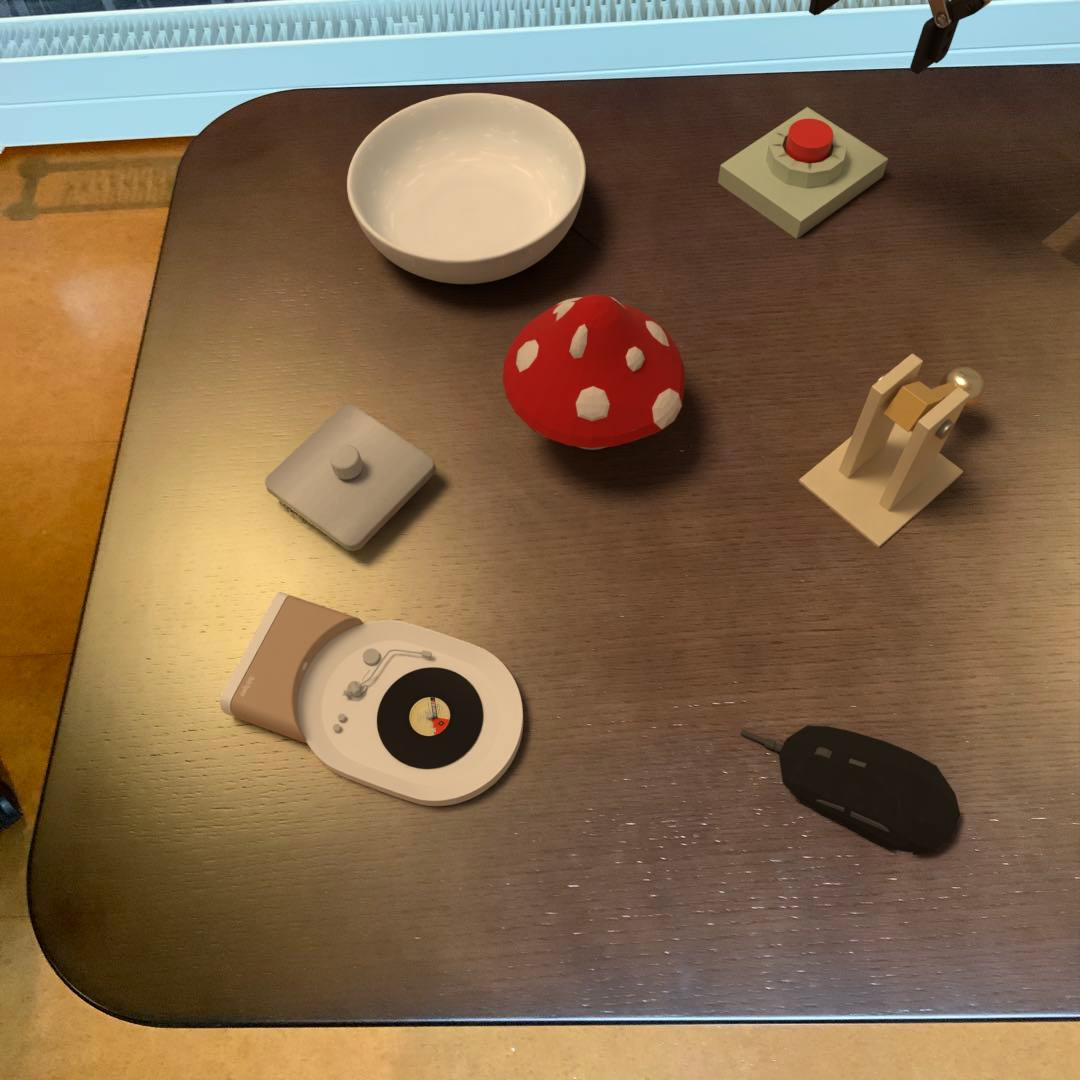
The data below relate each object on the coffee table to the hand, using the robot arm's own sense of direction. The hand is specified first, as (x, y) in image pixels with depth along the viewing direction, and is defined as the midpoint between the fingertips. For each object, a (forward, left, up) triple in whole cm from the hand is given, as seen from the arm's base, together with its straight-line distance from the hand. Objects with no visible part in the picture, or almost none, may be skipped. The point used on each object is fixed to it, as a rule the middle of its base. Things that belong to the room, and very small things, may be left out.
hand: (873, 35), depth 80 cm
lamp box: (-3, -5, -19) cm, 20 cm away
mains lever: (+15, +22, -13) cm, 29 cm away
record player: (+58, +11, -19) cm, 62 cm away
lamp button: (-3, -5, -15) cm, 16 cm away
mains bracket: (+18, +22, -19) cm, 34 cm away
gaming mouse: (+38, +36, -19) cm, 56 cm away
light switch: (+49, -5, -19) cm, 53 cm away
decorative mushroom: (+31, +3, -19) cm, 37 cm away
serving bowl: (+24, -21, -19) cm, 37 cm away
